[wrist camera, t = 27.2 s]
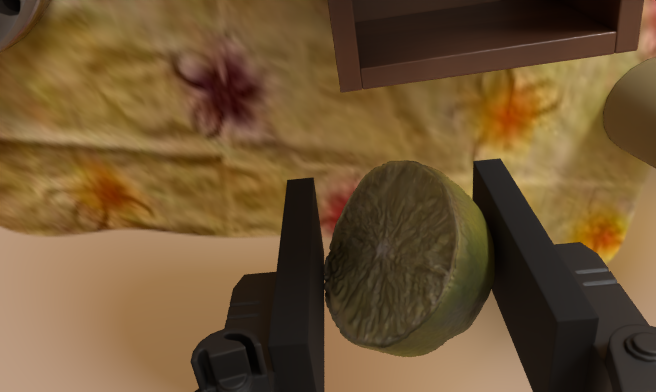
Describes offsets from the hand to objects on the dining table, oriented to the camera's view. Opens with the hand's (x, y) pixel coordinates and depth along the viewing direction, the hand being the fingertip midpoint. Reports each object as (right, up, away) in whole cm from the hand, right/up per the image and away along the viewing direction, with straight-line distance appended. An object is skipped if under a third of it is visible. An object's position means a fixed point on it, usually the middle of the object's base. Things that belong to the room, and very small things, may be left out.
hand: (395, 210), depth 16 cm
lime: (0, 0, +1) cm, 1 cm away
